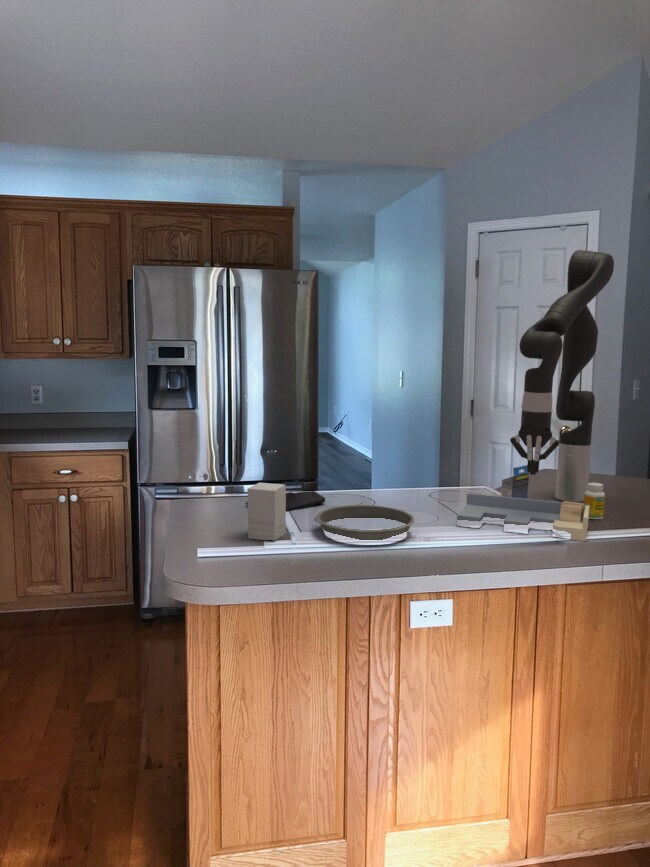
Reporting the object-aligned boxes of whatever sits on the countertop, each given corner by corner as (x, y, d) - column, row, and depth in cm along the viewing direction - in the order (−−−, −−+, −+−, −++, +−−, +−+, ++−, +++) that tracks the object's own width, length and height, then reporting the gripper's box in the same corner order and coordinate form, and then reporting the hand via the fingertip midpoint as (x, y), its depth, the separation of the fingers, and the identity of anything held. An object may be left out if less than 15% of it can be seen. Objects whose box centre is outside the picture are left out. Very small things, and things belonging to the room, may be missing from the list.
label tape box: (515, 502, 221) (517, 462, 219) (527, 505, 218) (530, 464, 216) (499, 507, 215) (501, 465, 213) (511, 510, 212) (514, 468, 210)
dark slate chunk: (332, 508, 212) (332, 492, 211) (262, 516, 201) (262, 499, 201) (307, 496, 225) (307, 481, 225) (240, 504, 215) (240, 488, 214)
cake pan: (304, 524, 194) (304, 507, 193) (391, 518, 201) (391, 502, 201) (333, 552, 171) (334, 533, 170) (430, 544, 178) (431, 526, 177)
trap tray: (466, 513, 206) (467, 492, 206) (587, 527, 195) (589, 505, 194) (456, 526, 194) (457, 504, 193) (585, 541, 182) (587, 517, 181)
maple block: (562, 515, 194) (563, 501, 194) (582, 518, 192) (583, 503, 192) (559, 520, 190) (560, 505, 189) (580, 522, 188) (581, 507, 187)
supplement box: (286, 534, 184) (287, 484, 182) (274, 542, 177) (275, 490, 175) (259, 530, 186) (259, 481, 184) (246, 538, 179) (246, 487, 177)
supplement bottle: (591, 514, 209) (593, 481, 207) (607, 518, 204) (610, 484, 203) (578, 516, 206) (581, 483, 204) (595, 521, 201) (597, 486, 200)
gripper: (564, 408, 193) (560, 473, 196) (512, 405, 198) (509, 468, 201) (562, 412, 186) (557, 479, 189) (508, 409, 191) (504, 474, 194)
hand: (532, 474), depth 195 cm, fingers closed
